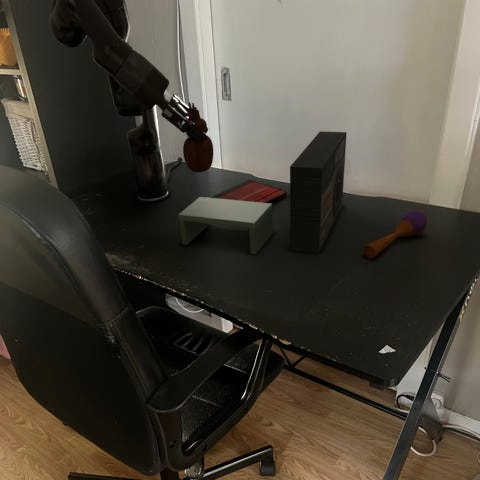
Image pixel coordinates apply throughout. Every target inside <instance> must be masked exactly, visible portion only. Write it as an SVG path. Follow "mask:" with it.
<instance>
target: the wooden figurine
mask: <svg viewBox="0 0 480 480" xmlns="http://www.w3.org/2000/svg"><path fill="white" fill-rule="evenodd" d="M188 106H189V116H190V119H191V120H192V121H193V123H194V124H195V125H197V126H198V127H199V128H200V129H201V130H202V131H203V132H204V133H206V134H207V133H208V132H207V127H208V123H207V121H206V120H205V119H204V118H203V117H201V114H200V110H199V109H198V107H197V106H195V103H194V102H192V103H191V102H190V101H188ZM185 135H186V136H187V138H186V139H184V140H185V141H184V142H183V145H182V154H183V159H184V162H185V164H186V167H187V168H188V169H189V170H190V171H191V172H193V173H204V172H206V171H208V170H210V169H211V168H212V165H213V161H214V143H213V141H212V139H211V137H210V136H209V134H207V138H206V140H205V141H204V142H203V143H202V144H201V143H199V142H198V141H197V140H196V139H195V138H193V137H192V136H191V135H190V134H189V133H186V132H185Z"/></svg>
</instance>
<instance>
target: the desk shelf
mask: <svg viewBox="0 0 480 480" xmlns="http://www.w3.org/2000/svg"><path fill="white" fill-rule="evenodd" d="M177 216H178V223H179V228H180V229H179V230H180V236H181V237H180V238H181V243H182V245H186V246H187V245H189V244H190V243H191V242H192V241H193V240H194V239H195V238H196V237H198V236H199V235H200V234H201V233H202V232H203V231H204V230H205V229H207V227H209V224H212V225H219V226H220V225H221V226H229V227H237V228H246V229H248V232H249V249H250V251H249V252H250V255H251V254H252V255H257V254H258V252H259V251H260V250H261V249H262V248H263V247H264V245H265V244H266V242H267V241H268V240H269V239H270V238H271V236H272V235H273V234H274V226H273V225H274V224H273V204H270V203H259V202H249V201H238V200H228V199H217V198H209V197H204V196H199V197H198V198H197V199H195V200H194V201H193V202H192V203H190V204H189V205H188V206H187V207H186V208H185V209H183V210H182V211H181V212H179V213H178V214H177Z"/></svg>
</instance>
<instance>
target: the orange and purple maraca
mask: <svg viewBox="0 0 480 480" xmlns="http://www.w3.org/2000/svg"><path fill="white" fill-rule="evenodd" d="M427 225H428V220H427V216H426V215H425V214H424V213H423V212H422V211H420V210H416V209H415V210H409V211H408V212H405V213H404V214H403V216H402V217H401V220H400V221H399V222H398V224H397V226H396V229H395V231H394V232H393V233H390V234H388V235H386V236H384V237H382V238H379V239H377V240H375V241H372V242H370V243H368V244H366V245H364V246H363V250H362V251H363V254H364V256H365V257H366V258H367V259H369V260H371V259H374V258H376V257H377V256H378V255H379V254H380V253H381V252H382V251H383V250H384V249H385V248H386V247H388V246H389V245H390V244H391V243H392V242H393V241H394V240H395V239H396V238H397V237H410V236H418V235H420V234H422V233H423V232H424V231H425V229H426V227H427Z"/></svg>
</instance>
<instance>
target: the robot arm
mask: <svg viewBox="0 0 480 480" xmlns="http://www.w3.org/2000/svg"><path fill="white" fill-rule="evenodd" d="M130 21H131V20H130V17H129V12H128V9H127V5H126V1H125V0H53V2H52V5H51V8H50V13H49V28H50V32H51V34H52V36H53V37H54V39H55V40H56V41H57V42H58V43H59V44H60V45H62V46H63V47H66V48H70V49H73V48H77V47H79V46H81V45H82V44H83V43H84V42H85V40H86V39H87V37H88V38H89V40H90V41H91V43H92V55H91V56H92V59H93V61H94V63H96V65H97V66H98V67H100V68H101V69H102V70H103V71H104V72H106V75H107V81H108V84H109V89H110V95H111V98H112V101H113V105H114V107H115V110H116V111H117V113H118V114H119V116H122V117H131V118H132V117H141V123H140V124H139V125H137V126H136V127H133V128H130V129H129V130H128V131H127V132H126V142H127V147H128V152H129V157H130V162H131V167H132V172H133V176H134V177H133V178H134V182H135V187H136V188H135V189H136V193H137V199H138V201H139V202H142V203H157V202H160V201H164V200H165V199H167V198H168V197H169V193H170V191H169V183H168V180H169V178H170V176H171V175H170V172H171V171H172V170H173V169H174V168H176V167H177V166H178V165H179V164H180V162H182V161H183V158H182V157H181V156H180V157H178V158H177V160H176V162H174V163H173V164H171V166H169V168H167V170H166V163H164V159H163V154H162V153H163V152H162V148H161V142H160V134H159V123H158V115H157V107H158V108H159V109H160V110H161V117H162V118H164V119H165V120H166V121H167V122H169V123H170V124H171V125H172V126H174V127H175V128H176V129H177V130H179V131H180V132H181V133H183V134H186V133H189V134H190V135H191V136H192V137H193V138H195V139H196V140H197V141H198V142H199V143H201V144H202V143H203V142H204V141H205V140H206V138H207V135H208V134H207V133H208V132H209V127H208V126H207V133H204V132H203V131H202V130H201V129H200V128H199V127H198V126H197V125H195V124H194V123H193V121H192V120H191V119H190V116H189V104H187V103H186V102H185V101H184V100H183V99H181V97H180V96H178V94H177V93H175V92H174V93H173V94H171V93H170V92H169V91H167V89H168V88H169V87H170V86H171V79H169V78H168V77H167V76H166V75H165V74H164V73H163V72H162V71H160V70H159V69H158V68H157V67H156V66H155V65H154V64H152V63H151V62H150V61H149V60H148V58H146V57H145V56H144V55H142V54H141V53H139V52H138V51H137V50H135V49H134V48H133V47H132V46H131V45H130V44H129V43H128V42H129V39H130V34H131V22H130Z"/></svg>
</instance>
